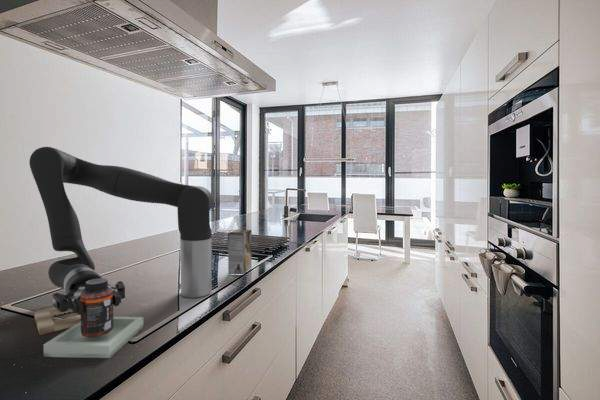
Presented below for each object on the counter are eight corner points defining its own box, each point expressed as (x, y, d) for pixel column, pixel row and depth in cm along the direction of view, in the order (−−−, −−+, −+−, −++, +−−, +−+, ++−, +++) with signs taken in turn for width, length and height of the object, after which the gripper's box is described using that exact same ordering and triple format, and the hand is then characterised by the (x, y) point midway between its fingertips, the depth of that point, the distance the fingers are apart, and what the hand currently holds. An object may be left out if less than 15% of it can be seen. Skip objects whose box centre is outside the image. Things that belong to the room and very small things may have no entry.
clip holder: (34, 316, 79) (34, 311, 79) (94, 303, 88) (94, 298, 88) (39, 335, 69) (39, 328, 69) (106, 318, 79) (106, 312, 78)
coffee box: (236, 268, 125) (236, 229, 124) (251, 269, 124) (252, 229, 123) (227, 275, 116) (227, 232, 115) (244, 276, 115) (244, 233, 114)
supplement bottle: (117, 331, 68) (116, 280, 67) (85, 342, 63) (84, 287, 63) (108, 323, 72) (107, 274, 71) (77, 331, 67) (76, 280, 66)
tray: (89, 326, 74) (89, 316, 74) (143, 327, 74) (143, 317, 74) (43, 356, 61) (43, 344, 61) (109, 358, 61) (109, 345, 61)
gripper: (46, 275, 72) (56, 296, 60) (116, 265, 82) (136, 280, 70) (47, 307, 72) (57, 334, 60) (116, 292, 83) (137, 313, 71)
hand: (99, 305), depth 65 cm, fingers closed on supplement bottle, 6 cm apart
